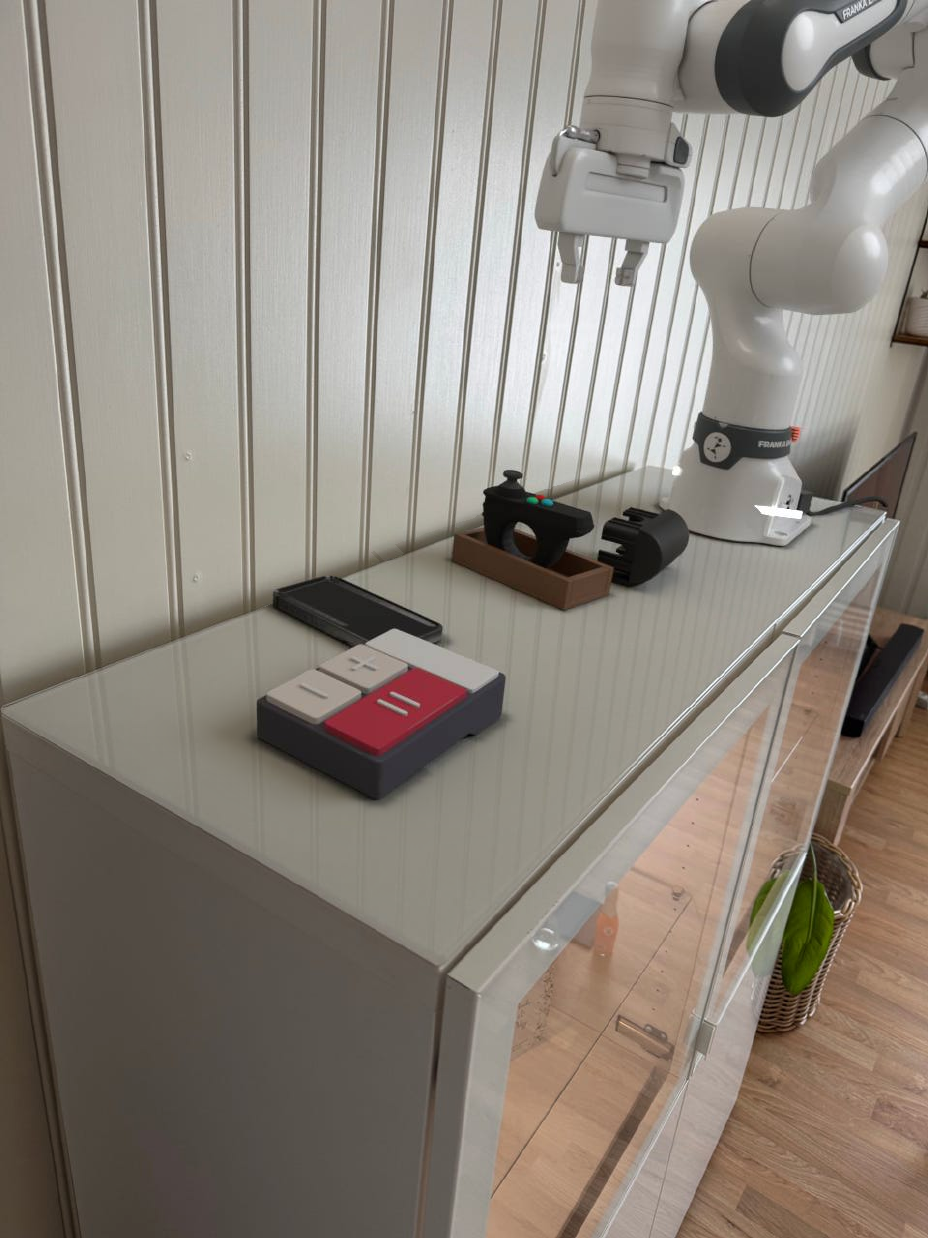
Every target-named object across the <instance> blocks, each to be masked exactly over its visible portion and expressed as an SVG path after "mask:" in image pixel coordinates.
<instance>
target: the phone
mask: <svg viewBox="0 0 928 1238" xmlns="http://www.w3.org/2000/svg"><path fill="white" fill-rule="evenodd" d="M272 606H273V607H275V608H276V609H279V610H281V611H282V612H284V613H287V614H289V615H291V616H293V617H294V618H295V619H298V620H300V621H302V622H304V623H305V624H308V625H310V626H312V627H314V628H316V629H318V630H320V631H322V632H324V633H325V634H328V635H329V636H332V637H334V638H336V639H338V640H339V641H341V642H343V643H345V644H347V645H349V646H351V647H352V648H353V647H355V646H357V645H359V644H362V645H363V644H365V643H366V642H368V641H370V640H372V639H374V638H376V637H378V636H380V635H382V634H384V633H386V632H387V631H389V630H391V629H398V630H400V631H403V632H405V633H408V634H410V635H413V636H415V637H417V638H420V639H422V640H425V641H427V642H430V643H432V644H434V645H435V644H437V643H439V642H441V641H442V638H443V630H444V628H443V625H442V624H441V623H440V622H438V621H435V620H433V619H431V618H429V617H427V616H425V615H423V614H420V613H418V612H416V611H414V610H412V609H409V608H408V607H405V606H403V605H401V604H398V603H396V602H394V601H392V600H389V599H388V598H385V597H383V596H380V595H378V594H376V593H374V592H372V591H370V590H368V589H365V588H363V587H361V586H359V585H357V584H354V583H352V582H350V581H348V580H345V579H343V578H342V577H339V576H335V575H322V576H319V577H315V578H312V579H308V580H305V581H300V582H297V583H293V584H290V585H287V586H282V587H279V588H276V589H274V590H273V592H272Z"/></svg>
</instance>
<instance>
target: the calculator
mask: <svg viewBox="0 0 928 1238" xmlns="http://www.w3.org/2000/svg"><path fill="white" fill-rule="evenodd" d="M506 678H507V676H506V675H505V674H504V673H502V672H500V671H499V670H497V669H495V668H493V667H490V666H488V665H485V664H484V663H480V662H478V661H475V660H474V659H471V658H469V657H465V656H463V655H461V654H458V653H456V652H454V651H451V650H449V649H447V648H444V647H442V646H439V645H436V644H435V643H434V644H432V643H430V642H427V641H425V640H422V639H420V638H417V637H415V636H413V635H410V634H408V633H405V632H403V631H400V630H398V629H391V630H389V631H387V632H386V633H384V634H382V635H380V636H378V637H376V638H374V639H372V640H370V641H368V642H366V643H365V644H363V645H362V644H359V645H357V646H355V647H353V646H352V647H350V648H349V649H347V650H345V651H343V652H341V653H339V654H338V655H336V656H334V657H332V658H330V659H328V660H326V661H324V662H322V663H320V664H319V666H318V667H316V668H315V669H313V668H311V669H309V670H306V671H304V672H303V673H301V674H299V675H297V676H295V677H293V678H291V679H289V680H287V681H285V682H283V683H282V684H280V685H278V686H276V687H274V688H271V689H270V690H268V691H266V694H265V695H263V696H261V697H259V698H258V699H257V700H256V736H257V737H258V738H259V739H260V740H262V741H263V742H266V743H268V744H270V745H271V746H273V747H275V748H277V749H278V750H281V751H282V752H285V753H287V754H289V755H290V756H292V757H294V758H296V759H297V760H300V761H301V762H303V763H306V764H308V765H309V766H311V767H313V768H315V769H316V770H318V771H320V772H322V773H324V774H326V775H328V776H330V777H331V778H334V779H336V780H338V781H339V782H341V783H343V784H344V785H347V786H349V787H351V788H352V789H354V790H356V791H358V792H360V793H361V794H364V795H365V796H367V797H369V798H372V799H375V800H378V799H381V798H382V797H384V796H386V795H387V794H388V793H389V792H391V791H392V790H394V789H395V788H396V787H398V786H399V785H401V784H402V783H404V782H405V781H407V780H408V779H409V778H410V777H411V776H413V775H414V774H416V773H417V772H418V771H420V770H421V769H423V768H424V767H425V766H426V765H428V764H430V763H431V762H432V761H433V760H435V759H436V758H437V757H439V756H440V755H441V754H444V753H445V752H446V751H447V750H449V749H450V748H452V747H453V746H454V745H456V744H457V743H458V742H459V741H461V740H462V739H463V738H465V737H466V736H468V735H473V736H476V735H478V734H480V732H482V731H484V730H485V729H486V728H488V727H489V726H490V725H491V724H493V723H495V721H497V720H499V718H501V716H502V712H503V705H504V697H505V688H506Z"/></svg>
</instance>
